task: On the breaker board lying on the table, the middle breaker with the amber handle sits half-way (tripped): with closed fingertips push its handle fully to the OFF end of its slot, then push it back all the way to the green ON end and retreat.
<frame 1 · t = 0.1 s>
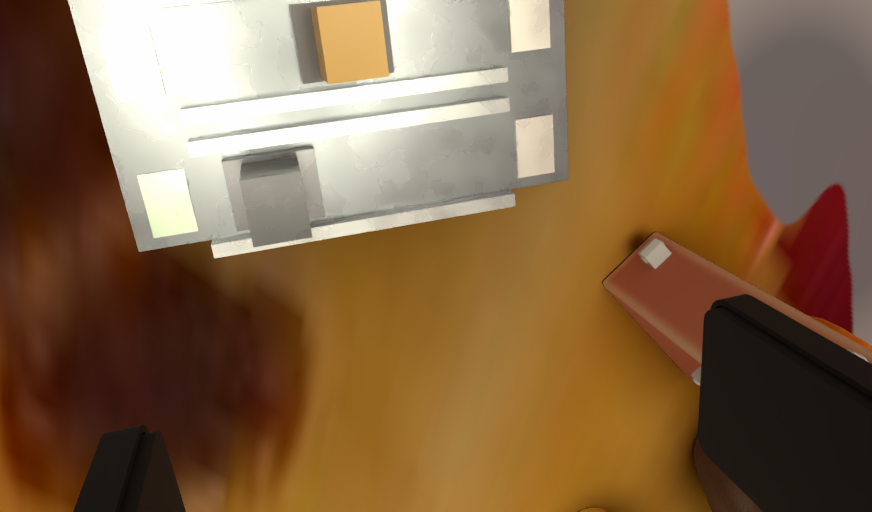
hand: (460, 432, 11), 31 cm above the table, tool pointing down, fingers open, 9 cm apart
plant pot: (727, 440, 57), on the table
control panel: (669, 307, 50), on the table
tripped breaker: (347, 40, 34), point 4 cm above the table, slide at 0.0 cm
breaker board: (338, 37, 38), on the table
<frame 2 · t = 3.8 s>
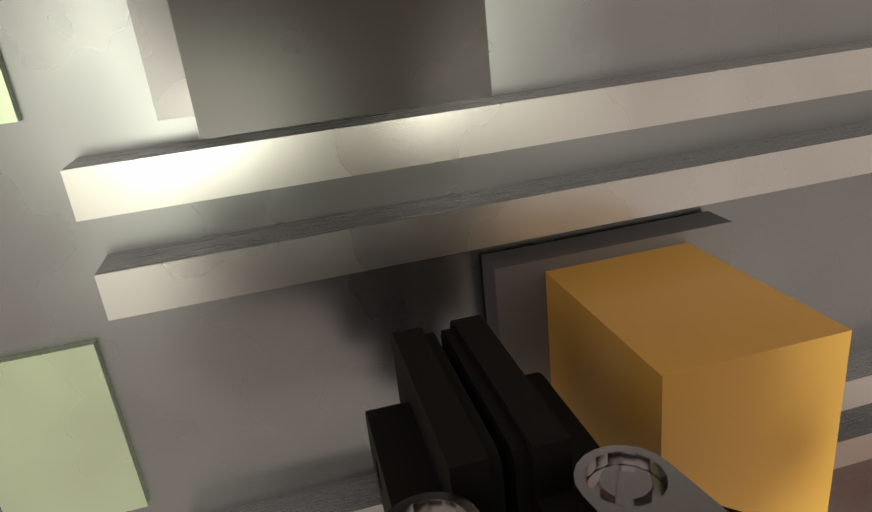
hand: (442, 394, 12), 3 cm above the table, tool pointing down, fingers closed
tripped breaker: (662, 375, 12), point 4 cm above the table, slide at 0.1 cm, touching gripper
breaker board: (556, 284, 16), on the table
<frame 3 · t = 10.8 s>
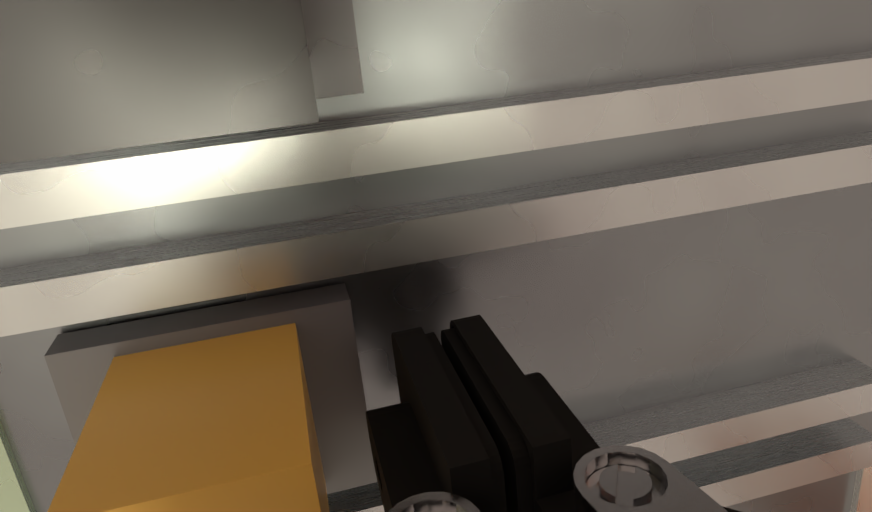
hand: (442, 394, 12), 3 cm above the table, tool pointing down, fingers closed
tripped breaker: (223, 482, 10), point 5 cm above the table, slide at -5.7 cm, touching gripper
breaker board: (480, 303, 16), on the table
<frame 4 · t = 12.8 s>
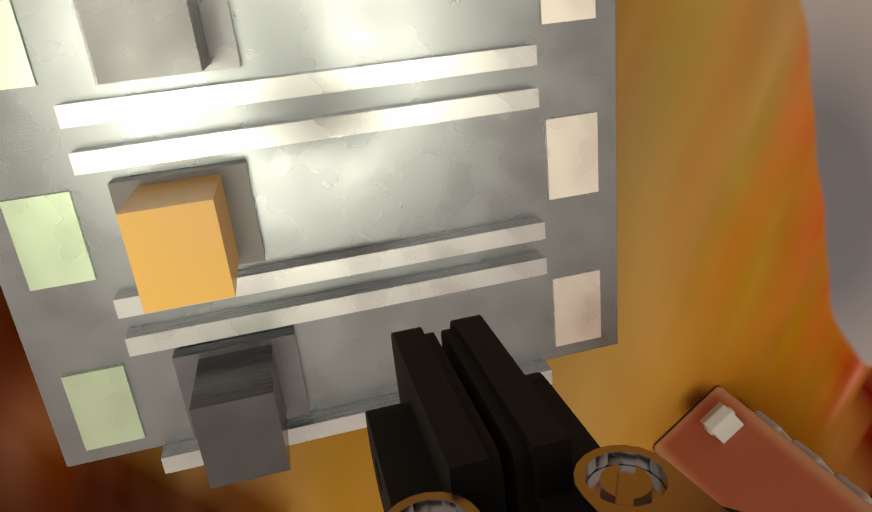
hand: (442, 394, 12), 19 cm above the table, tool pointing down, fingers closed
control panel: (732, 467, 42), on the table
tripped breaker: (185, 236, 24), point 4 cm above the table, slide at -5.5 cm
breaker board: (326, 184, 29), on the table
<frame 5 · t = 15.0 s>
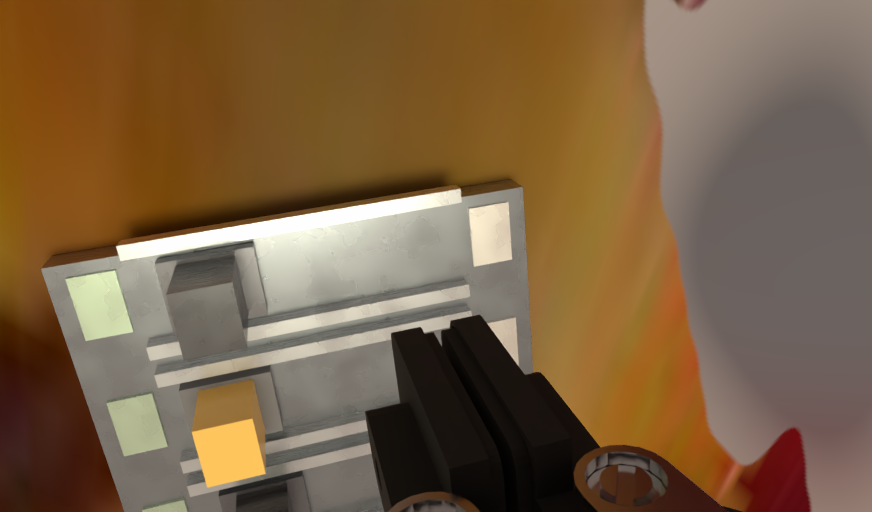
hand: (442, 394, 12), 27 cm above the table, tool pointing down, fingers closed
tripped breaker: (231, 427, 36), point 4 cm above the table, slide at -5.5 cm
breaker board: (324, 366, 42), on the table
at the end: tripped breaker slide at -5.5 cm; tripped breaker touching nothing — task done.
